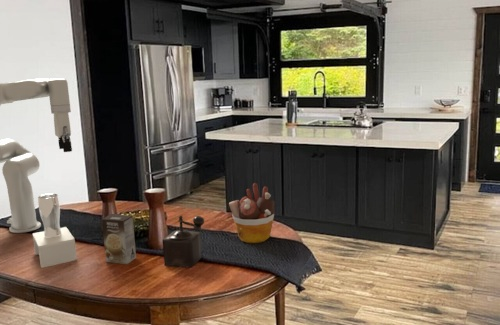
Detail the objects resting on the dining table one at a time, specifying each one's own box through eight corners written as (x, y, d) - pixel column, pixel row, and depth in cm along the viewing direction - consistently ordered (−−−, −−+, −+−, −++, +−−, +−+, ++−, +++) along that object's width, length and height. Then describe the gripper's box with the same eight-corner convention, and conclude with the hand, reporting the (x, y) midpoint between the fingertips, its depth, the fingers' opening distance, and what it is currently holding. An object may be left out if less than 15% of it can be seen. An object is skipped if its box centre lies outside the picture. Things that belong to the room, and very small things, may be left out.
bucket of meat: (271, 248, 179) (270, 196, 175) (228, 247, 182) (225, 195, 178) (278, 229, 198) (277, 182, 194) (238, 228, 201) (236, 182, 197)
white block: (35, 253, 184) (32, 233, 182) (68, 246, 189) (66, 226, 188) (41, 268, 170) (38, 246, 168) (77, 259, 176) (74, 238, 174)
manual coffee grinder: (162, 266, 167) (158, 216, 163) (176, 254, 177) (172, 206, 174) (204, 270, 163) (201, 218, 159) (216, 257, 173) (213, 208, 169)
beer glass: (55, 239, 175) (50, 198, 172) (38, 238, 176) (33, 198, 173) (66, 232, 181) (62, 193, 178) (50, 231, 183) (45, 193, 180)
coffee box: (105, 262, 173) (100, 218, 170) (115, 255, 179) (111, 213, 175) (127, 264, 170) (123, 220, 167) (137, 257, 176) (133, 214, 172)
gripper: (47, 108, 206) (52, 148, 210) (54, 111, 191) (59, 154, 195) (66, 107, 210) (70, 146, 213) (74, 109, 195) (79, 151, 199)
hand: (65, 150), depth 204 cm, fingers open, 9 cm apart
